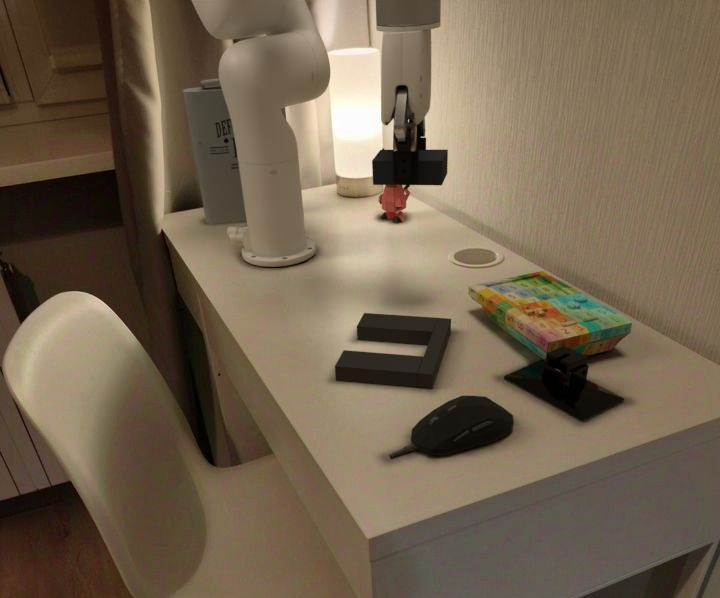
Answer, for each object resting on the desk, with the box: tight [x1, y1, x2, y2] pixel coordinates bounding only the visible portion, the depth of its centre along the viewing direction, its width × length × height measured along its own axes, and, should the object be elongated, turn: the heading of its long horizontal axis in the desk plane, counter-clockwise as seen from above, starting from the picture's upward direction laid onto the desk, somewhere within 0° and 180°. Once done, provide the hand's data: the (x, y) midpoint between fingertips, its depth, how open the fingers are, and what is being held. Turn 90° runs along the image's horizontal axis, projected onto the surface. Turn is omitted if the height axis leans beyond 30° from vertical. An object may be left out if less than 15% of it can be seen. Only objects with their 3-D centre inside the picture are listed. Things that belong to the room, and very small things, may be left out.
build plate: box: [503, 346, 625, 423], centre depth 84 cm, size 12×7×5 cm, turn 35°
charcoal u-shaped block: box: [334, 312, 452, 389], centre depth 93 cm, size 15×12×2 cm
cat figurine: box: [378, 147, 411, 224], centre depth 131 cm, size 7×7×12 cm
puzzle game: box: [468, 270, 633, 360], centre depth 95 cm, size 12×5×20 cm
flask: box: [182, 77, 287, 225], centre depth 132 cm, size 17×5×25 cm, turn 103°
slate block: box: [371, 149, 449, 186], centre depth 94 cm, size 6×9×3 cm, turn 77°
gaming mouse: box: [388, 395, 515, 459], centre depth 77 cm, size 6×15×4 cm, turn 116°
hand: (410, 175), depth 95 cm, fingers closed on slate block, 5 cm apart
